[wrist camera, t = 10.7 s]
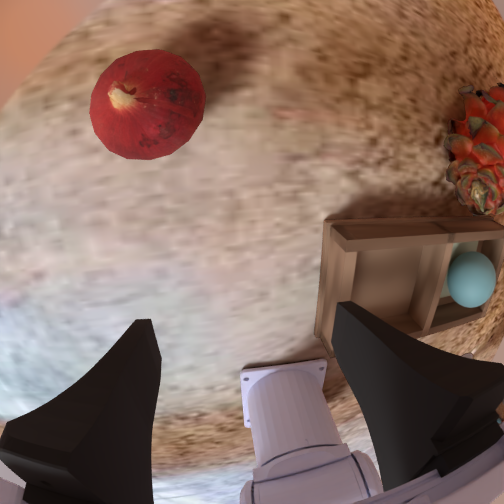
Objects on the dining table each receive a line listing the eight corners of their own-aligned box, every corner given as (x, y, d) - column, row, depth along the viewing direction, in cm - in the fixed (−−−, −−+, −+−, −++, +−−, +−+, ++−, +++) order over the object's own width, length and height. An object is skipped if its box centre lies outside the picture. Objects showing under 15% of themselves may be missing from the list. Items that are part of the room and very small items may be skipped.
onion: (212, 68, 15) (212, 26, 8) (201, 156, 18) (191, 175, 10) (122, 66, 14) (67, 34, 7) (112, 152, 17) (52, 171, 9)
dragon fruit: (420, 202, 22) (447, 90, 20) (497, 240, 19) (519, 126, 17) (439, 185, 15) (464, 41, 12) (540, 241, 12) (555, 92, 9)
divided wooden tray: (467, 301, 26) (485, 317, 23) (313, 333, 24) (326, 360, 21) (489, 216, 22) (512, 227, 19) (323, 220, 20) (342, 237, 17)
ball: (462, 286, 24) (495, 309, 20) (431, 296, 24) (466, 324, 19) (473, 240, 22) (510, 260, 18) (442, 246, 22) (483, 270, 17)
